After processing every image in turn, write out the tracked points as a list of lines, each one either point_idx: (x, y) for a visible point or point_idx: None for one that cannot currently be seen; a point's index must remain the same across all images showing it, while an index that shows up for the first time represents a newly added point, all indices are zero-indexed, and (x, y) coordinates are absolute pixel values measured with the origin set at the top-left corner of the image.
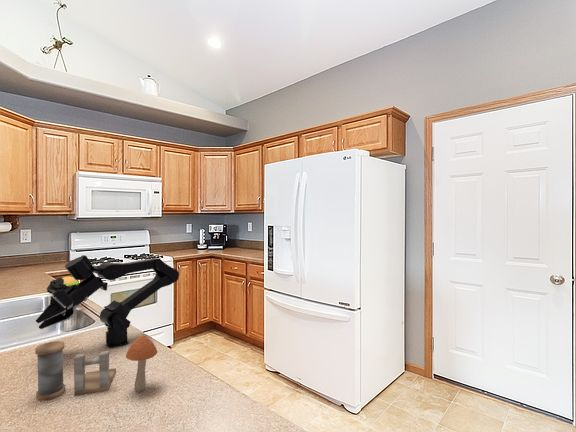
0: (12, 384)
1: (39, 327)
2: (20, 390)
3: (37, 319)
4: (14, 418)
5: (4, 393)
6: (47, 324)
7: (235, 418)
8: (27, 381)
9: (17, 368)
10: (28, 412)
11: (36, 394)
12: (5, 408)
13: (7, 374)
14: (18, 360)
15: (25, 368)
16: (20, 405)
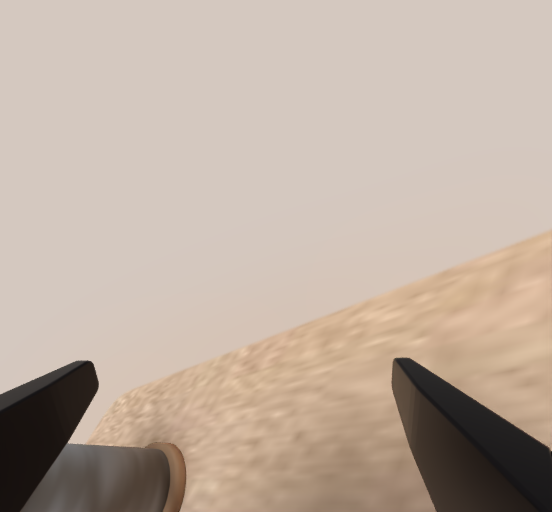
0: (279, 352)
1: (392, 370)
2: (229, 388)
3: (62, 373)
4: (127, 406)
5: (237, 349)
6: (425, 464)
7: None
8: (276, 396)
9: (421, 323)
10: (125, 433)
11: (150, 444)
12: (171, 376)
13: (370, 307)
14: (546, 290)
15: (408, 357)
16: (160, 407)
